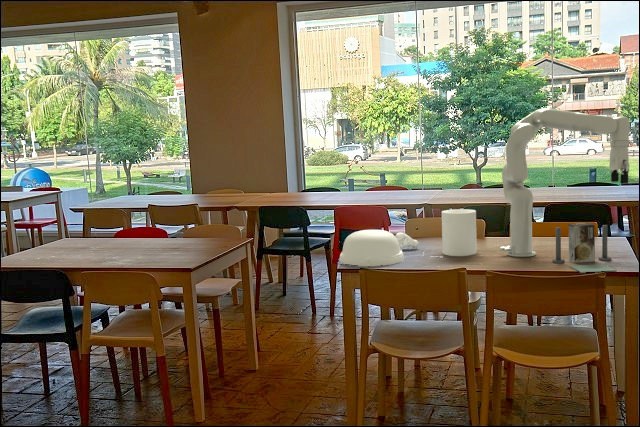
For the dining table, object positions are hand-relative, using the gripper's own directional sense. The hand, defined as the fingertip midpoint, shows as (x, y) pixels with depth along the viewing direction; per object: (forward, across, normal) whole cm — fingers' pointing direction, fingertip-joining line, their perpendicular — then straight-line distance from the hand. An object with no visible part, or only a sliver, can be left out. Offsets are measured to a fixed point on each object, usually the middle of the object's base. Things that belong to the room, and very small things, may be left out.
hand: (619, 182), depth 310 cm
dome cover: (+32, -6, -114) cm, 118 cm away
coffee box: (+31, +20, -25) cm, 45 cm away
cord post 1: (+31, +20, -35) cm, 51 cm away
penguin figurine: (+32, -28, -94) cm, 103 cm away
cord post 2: (+31, +20, -15) cm, 40 cm away
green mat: (+31, +37, -27) cm, 55 cm away
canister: (+31, -12, -71) cm, 78 cm away
